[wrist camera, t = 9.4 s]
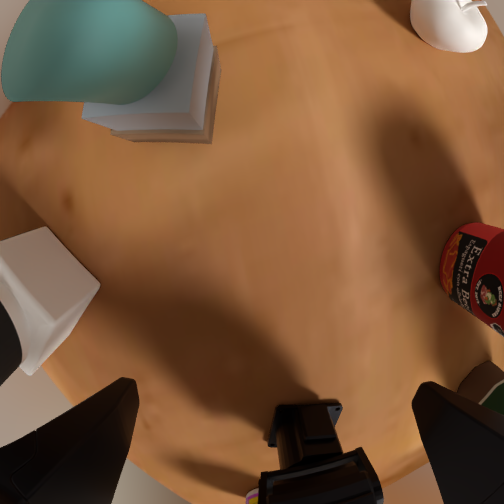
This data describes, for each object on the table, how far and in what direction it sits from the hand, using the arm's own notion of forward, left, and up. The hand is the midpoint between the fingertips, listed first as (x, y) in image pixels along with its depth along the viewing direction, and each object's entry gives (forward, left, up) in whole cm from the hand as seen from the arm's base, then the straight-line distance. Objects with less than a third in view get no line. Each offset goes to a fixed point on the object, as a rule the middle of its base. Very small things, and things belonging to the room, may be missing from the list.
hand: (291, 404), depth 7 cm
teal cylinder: (+11, +7, -4) cm, 14 cm away
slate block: (+11, +7, -9) cm, 16 cm away
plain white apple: (+23, -13, -13) cm, 30 cm away
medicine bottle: (-3, +17, -13) cm, 22 cm away
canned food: (+2, -19, -13) cm, 23 cm away
